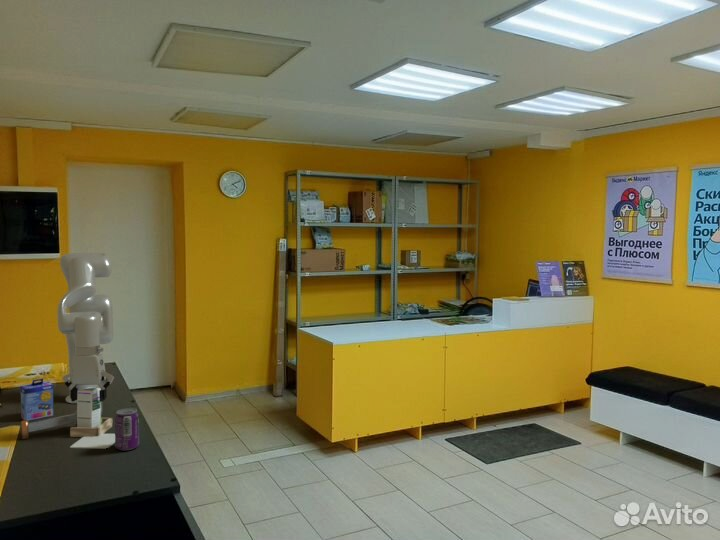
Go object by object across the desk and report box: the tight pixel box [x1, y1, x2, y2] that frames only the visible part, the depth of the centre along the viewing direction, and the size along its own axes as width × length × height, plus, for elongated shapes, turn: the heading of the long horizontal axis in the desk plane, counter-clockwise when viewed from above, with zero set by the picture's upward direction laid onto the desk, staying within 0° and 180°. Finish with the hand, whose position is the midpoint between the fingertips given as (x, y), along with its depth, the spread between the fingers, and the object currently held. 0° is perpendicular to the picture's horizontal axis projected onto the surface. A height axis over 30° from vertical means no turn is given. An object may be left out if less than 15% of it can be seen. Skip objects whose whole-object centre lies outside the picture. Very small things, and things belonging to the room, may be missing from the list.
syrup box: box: [76, 387, 103, 428], centre depth 197 cm, size 6×6×14 cm
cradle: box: [69, 417, 114, 438], centre depth 197 cm, size 11×10×3 cm
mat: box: [69, 433, 115, 450], centre depth 188 cm, size 12×12×1 cm
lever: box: [20, 409, 77, 440], centre depth 195 cm, size 19×2×6 cm, turn 134°
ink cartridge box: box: [20, 378, 54, 422], centre depth 211 cm, size 10×6×14 cm, turn 137°
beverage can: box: [114, 407, 140, 452], centre depth 183 cm, size 7×7×12 cm
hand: (88, 400), depth 196 cm, fingers open, 9 cm apart
